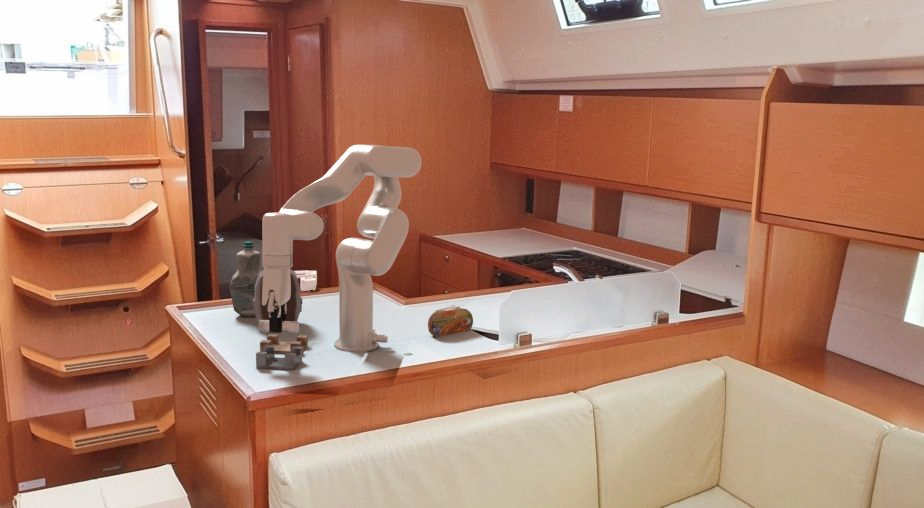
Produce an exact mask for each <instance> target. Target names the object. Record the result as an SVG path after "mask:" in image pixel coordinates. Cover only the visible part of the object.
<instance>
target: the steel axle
mask: <svg viewBox="0 0 924 508" xmlns="http://www.w3.org/2000/svg"><path fill="white" fill-rule="evenodd" d="M257 330H258V332H265V333H270V332H269V320H259V323H258V322H257ZM299 331H300V322H299V321H297V322H294V321H282V332H281V333H285V334H298V333H299Z"/></svg>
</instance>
